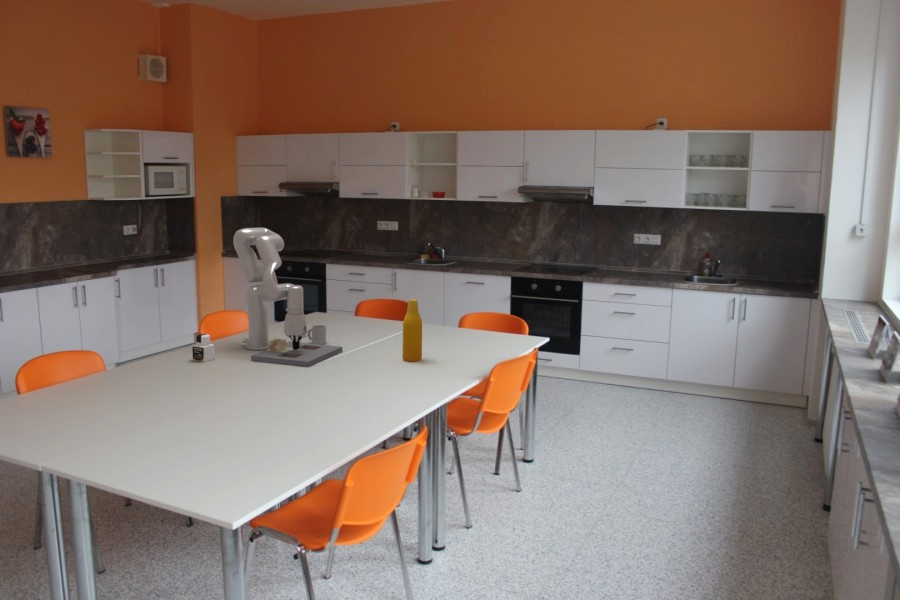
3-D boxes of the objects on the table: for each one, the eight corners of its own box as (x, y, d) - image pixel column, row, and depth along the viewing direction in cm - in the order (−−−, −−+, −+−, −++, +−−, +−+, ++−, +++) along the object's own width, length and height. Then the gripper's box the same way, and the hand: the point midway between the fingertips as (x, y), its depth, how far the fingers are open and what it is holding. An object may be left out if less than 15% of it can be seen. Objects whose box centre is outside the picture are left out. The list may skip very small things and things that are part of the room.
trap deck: (251, 360, 359) (251, 355, 358) (289, 346, 390) (289, 341, 390) (308, 367, 349) (308, 361, 349) (342, 351, 381) (342, 346, 380)
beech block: (268, 350, 370) (268, 341, 369) (274, 347, 375) (274, 338, 375) (280, 351, 368) (279, 342, 367) (285, 348, 374) (285, 339, 373)
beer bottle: (417, 362, 361) (418, 302, 356) (399, 361, 364) (400, 300, 359) (424, 358, 370) (425, 299, 365) (406, 356, 373) (407, 297, 368)
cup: (323, 345, 394) (322, 328, 393) (304, 344, 396) (304, 327, 395) (328, 342, 401) (328, 325, 400) (310, 341, 403) (310, 324, 402)
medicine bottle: (192, 360, 357) (191, 335, 355) (203, 357, 364) (203, 332, 362) (203, 362, 354) (202, 336, 352) (215, 359, 360) (214, 334, 358)
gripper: (277, 311, 366) (278, 349, 368) (305, 313, 361) (305, 352, 364) (286, 309, 373) (286, 346, 375) (313, 311, 368) (313, 348, 371)
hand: (296, 349), depth 369 cm, fingers closed
